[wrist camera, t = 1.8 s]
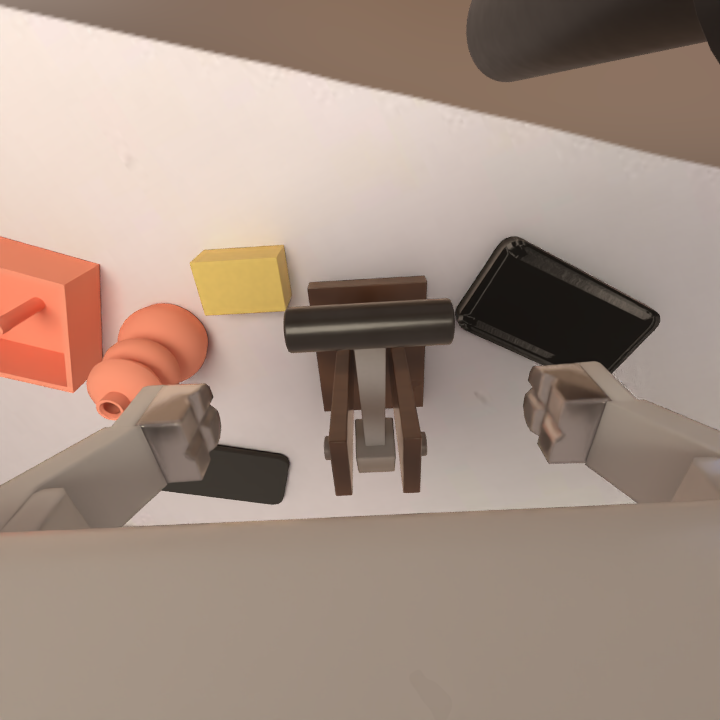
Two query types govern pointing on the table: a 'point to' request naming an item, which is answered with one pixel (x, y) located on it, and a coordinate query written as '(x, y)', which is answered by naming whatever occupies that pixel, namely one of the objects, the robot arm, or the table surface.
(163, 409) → the robot arm
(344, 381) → the brown wooden frame
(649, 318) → the phone
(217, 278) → the butter block
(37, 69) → the table surface
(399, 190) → the table surface
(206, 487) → the phone
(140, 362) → the pottery
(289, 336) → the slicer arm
